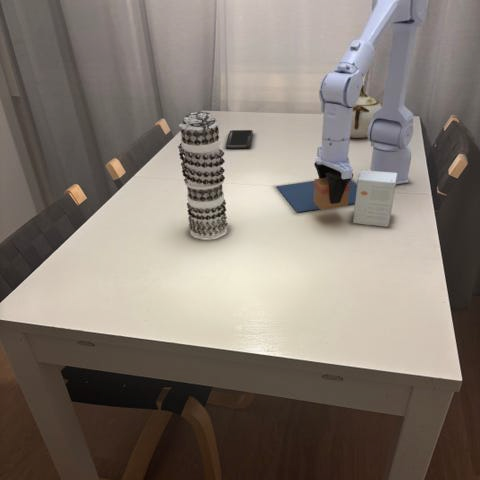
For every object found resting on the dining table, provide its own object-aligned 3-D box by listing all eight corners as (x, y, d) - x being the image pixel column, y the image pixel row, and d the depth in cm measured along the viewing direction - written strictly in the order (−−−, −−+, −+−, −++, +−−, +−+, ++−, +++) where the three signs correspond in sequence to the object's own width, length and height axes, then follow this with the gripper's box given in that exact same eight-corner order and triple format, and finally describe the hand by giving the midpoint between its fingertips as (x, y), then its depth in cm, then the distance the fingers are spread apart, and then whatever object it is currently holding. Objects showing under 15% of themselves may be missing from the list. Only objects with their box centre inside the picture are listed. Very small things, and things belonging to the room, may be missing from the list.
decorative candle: (183, 226, 109) (168, 113, 94) (220, 218, 112) (212, 106, 96) (195, 244, 103) (182, 125, 87) (235, 234, 105) (229, 117, 90)
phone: (225, 145, 148) (230, 130, 160) (225, 148, 149) (230, 133, 161) (250, 145, 148) (253, 129, 159) (250, 148, 148) (253, 133, 160)
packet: (339, 197, 110) (341, 174, 107) (347, 206, 106) (350, 182, 103) (312, 201, 109) (314, 178, 105) (320, 210, 105) (322, 186, 102)
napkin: (346, 177, 128) (346, 176, 128) (374, 201, 116) (374, 200, 116) (276, 187, 125) (276, 186, 125) (297, 213, 113) (297, 211, 113)
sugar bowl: (337, 124, 165) (341, 76, 155) (381, 126, 161) (388, 78, 152) (330, 142, 150) (334, 91, 141) (378, 145, 147) (385, 93, 137)
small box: (390, 216, 110) (398, 172, 103) (388, 227, 105) (396, 182, 99) (355, 212, 112) (361, 169, 105) (352, 223, 108) (357, 178, 101)
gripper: (305, 128, 103) (302, 187, 112) (331, 150, 92) (326, 214, 101) (335, 125, 104) (330, 183, 113) (365, 146, 93) (357, 209, 102)
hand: (330, 198), depth 107 cm, fingers closed on packet, 4 cm apart
